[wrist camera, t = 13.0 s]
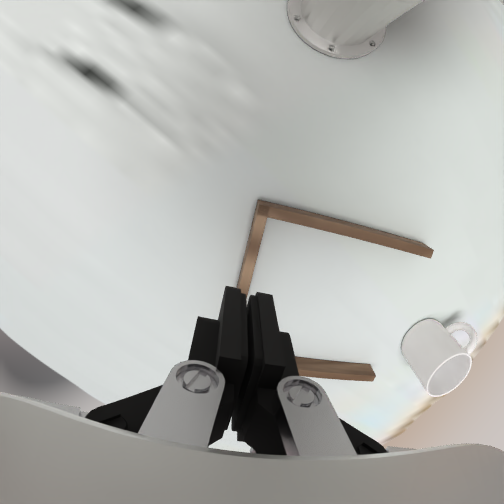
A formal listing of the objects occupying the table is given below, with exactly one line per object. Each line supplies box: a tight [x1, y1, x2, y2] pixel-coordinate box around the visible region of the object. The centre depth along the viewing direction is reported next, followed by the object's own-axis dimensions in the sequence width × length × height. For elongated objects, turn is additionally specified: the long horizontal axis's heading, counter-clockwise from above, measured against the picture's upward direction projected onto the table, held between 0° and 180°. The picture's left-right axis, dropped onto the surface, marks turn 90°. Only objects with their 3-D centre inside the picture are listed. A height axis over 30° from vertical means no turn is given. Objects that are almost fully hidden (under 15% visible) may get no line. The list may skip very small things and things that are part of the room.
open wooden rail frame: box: [237, 200, 434, 381], centre depth 40 cm, size 22×24×3 cm
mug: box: [402, 319, 477, 397], centre depth 40 cm, size 12×8×10 cm
